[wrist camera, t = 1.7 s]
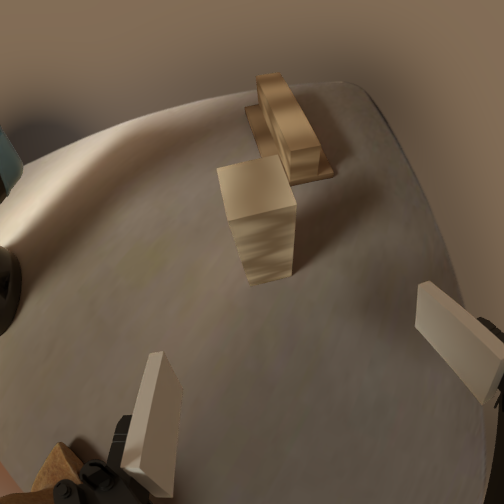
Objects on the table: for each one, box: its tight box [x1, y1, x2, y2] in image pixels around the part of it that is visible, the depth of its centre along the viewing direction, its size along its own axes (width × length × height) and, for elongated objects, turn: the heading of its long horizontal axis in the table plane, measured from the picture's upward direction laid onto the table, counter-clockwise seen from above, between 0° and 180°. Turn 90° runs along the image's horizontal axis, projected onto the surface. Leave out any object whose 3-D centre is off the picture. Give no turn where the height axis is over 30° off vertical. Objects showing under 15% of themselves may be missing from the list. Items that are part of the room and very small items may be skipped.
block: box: [217, 155, 297, 287], centre depth 26 cm, size 4×4×14 cm
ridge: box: [245, 72, 334, 186], centre depth 37 cm, size 16×8×6 cm, turn 13°
